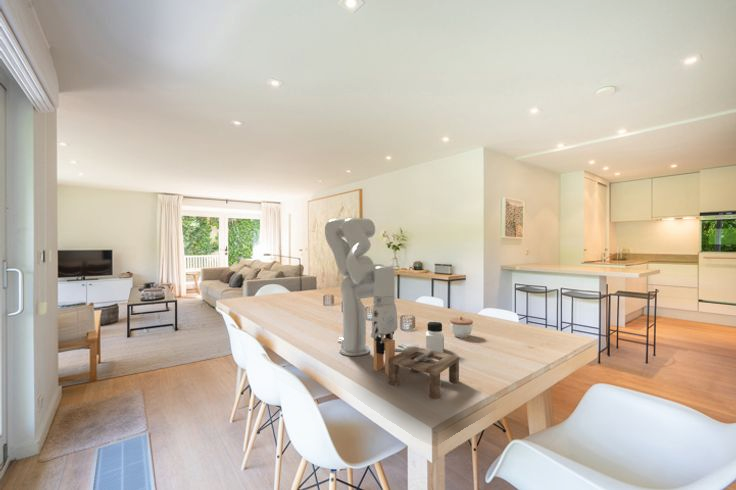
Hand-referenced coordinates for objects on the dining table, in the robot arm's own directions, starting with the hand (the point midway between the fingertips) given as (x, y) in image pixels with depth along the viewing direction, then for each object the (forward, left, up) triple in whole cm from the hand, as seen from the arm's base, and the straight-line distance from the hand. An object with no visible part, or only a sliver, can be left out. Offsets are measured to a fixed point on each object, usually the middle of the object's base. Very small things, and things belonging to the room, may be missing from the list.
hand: (384, 351), depth 115 cm
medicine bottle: (+4, +31, -7) cm, 32 cm away
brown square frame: (+16, 0, -7) cm, 17 cm away
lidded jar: (+4, +59, -7) cm, 60 cm away
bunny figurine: (+1, +18, -7) cm, 19 cm away
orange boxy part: (0, 0, -7) cm, 7 cm away
